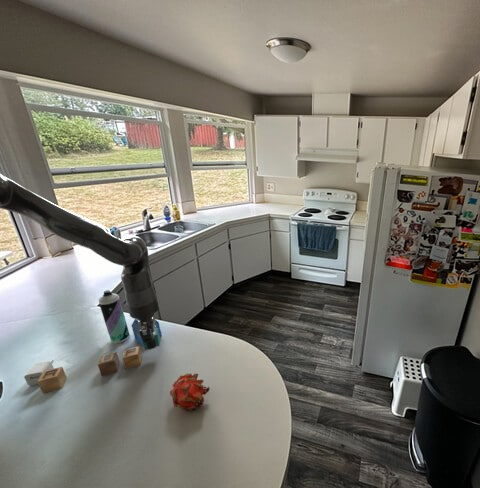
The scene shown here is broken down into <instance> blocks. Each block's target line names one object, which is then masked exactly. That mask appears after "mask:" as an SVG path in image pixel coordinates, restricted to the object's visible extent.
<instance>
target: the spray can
mask: <svg viewBox="0 0 480 488" xmlns="http://www.w3.org/2000/svg"><path fill="white" fill-rule="evenodd" d="M98 305H99V308H100V310H101V311H100V312H101V314H102V317H103V320H104V324H105V326H106V330H107V334H108V336H109V339H110V342H111V343H112V344H120V343H123V342H125V341H127V340H128V339H129V338H130V336H131V335H130V331H129V327H128V324H127V319H126V317H125V313H124V310H123V306H122V303H121V299H120V295H119V294H118V293H113V292H111V290H104V291H103V294H102V296H100V297H99V298H98Z"/></svg>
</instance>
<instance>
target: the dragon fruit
mask: <svg viewBox="0 0 480 488" xmlns="http://www.w3.org/2000/svg"><path fill="white" fill-rule="evenodd" d="M199 375H200V374H199V373H194V374H192V373H188V372H187V373H185V374H183V375H180V376H179V377H177V380H175V381H174V382H173V383H172V387H173V388H172V389H171V390H170V391H169V394H170V397H171V399H172V403H173V407H175V408H179V409H181V410H186V411H187V412H195V411H196V408H201V407H202V406H203V405H204V402H205V398H204V396H205V395H206V394H207V393H209V391H210V386H209V385H208V386H207V387H206V386H204V385H203V383H204V379H198V377H199Z"/></svg>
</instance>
